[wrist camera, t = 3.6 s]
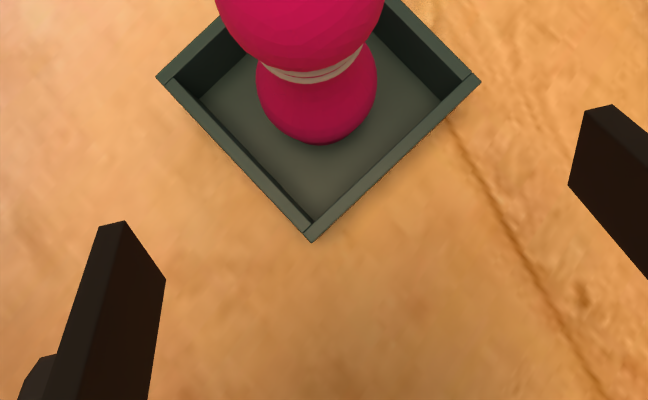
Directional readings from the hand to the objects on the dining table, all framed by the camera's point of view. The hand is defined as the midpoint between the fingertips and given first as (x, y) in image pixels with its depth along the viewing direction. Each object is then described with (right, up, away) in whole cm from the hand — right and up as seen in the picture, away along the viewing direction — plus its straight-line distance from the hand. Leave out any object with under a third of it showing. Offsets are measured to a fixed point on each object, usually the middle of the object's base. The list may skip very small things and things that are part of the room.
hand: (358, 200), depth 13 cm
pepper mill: (-1, +7, +18) cm, 20 cm away
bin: (-1, +7, +19) cm, 20 cm away
